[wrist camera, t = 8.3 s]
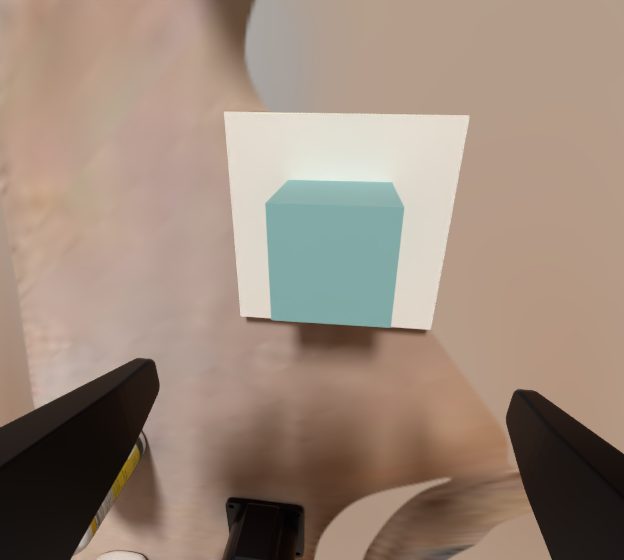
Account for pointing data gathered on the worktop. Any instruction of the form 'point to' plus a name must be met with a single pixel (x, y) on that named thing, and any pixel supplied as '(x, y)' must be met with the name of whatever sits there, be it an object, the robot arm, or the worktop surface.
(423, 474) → the worktop surface
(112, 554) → the eye dropper bottle
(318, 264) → the teal cube
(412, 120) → the coaster
